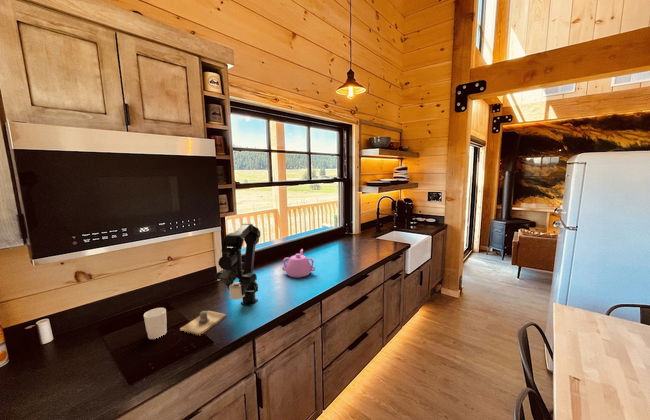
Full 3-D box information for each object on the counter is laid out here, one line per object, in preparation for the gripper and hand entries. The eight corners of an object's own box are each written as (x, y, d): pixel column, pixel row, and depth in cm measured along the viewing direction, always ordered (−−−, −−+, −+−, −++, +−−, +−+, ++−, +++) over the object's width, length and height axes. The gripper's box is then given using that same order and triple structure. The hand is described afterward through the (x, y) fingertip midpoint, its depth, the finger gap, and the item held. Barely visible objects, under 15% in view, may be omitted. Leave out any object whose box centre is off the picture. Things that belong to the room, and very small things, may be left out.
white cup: (164, 326, 117) (161, 305, 116) (171, 333, 112) (168, 311, 111) (143, 335, 111) (140, 313, 110) (150, 342, 106) (147, 319, 105)
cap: (236, 292, 126) (235, 280, 125) (247, 294, 124) (247, 282, 123) (226, 298, 120) (225, 286, 119) (238, 300, 117) (237, 288, 117)
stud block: (208, 312, 129) (207, 302, 128) (226, 316, 125) (225, 305, 124) (180, 330, 114) (178, 319, 113) (199, 335, 110) (198, 324, 109)
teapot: (317, 267, 187) (317, 248, 185) (313, 279, 165) (312, 258, 163) (287, 266, 189) (286, 248, 187) (279, 279, 168) (278, 258, 166)
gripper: (205, 265, 115) (208, 298, 117) (240, 269, 109) (242, 305, 111) (223, 257, 126) (225, 288, 128) (256, 261, 119) (258, 294, 121)
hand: (237, 294), depth 122 cm, fingers closed on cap, 6 cm apart
